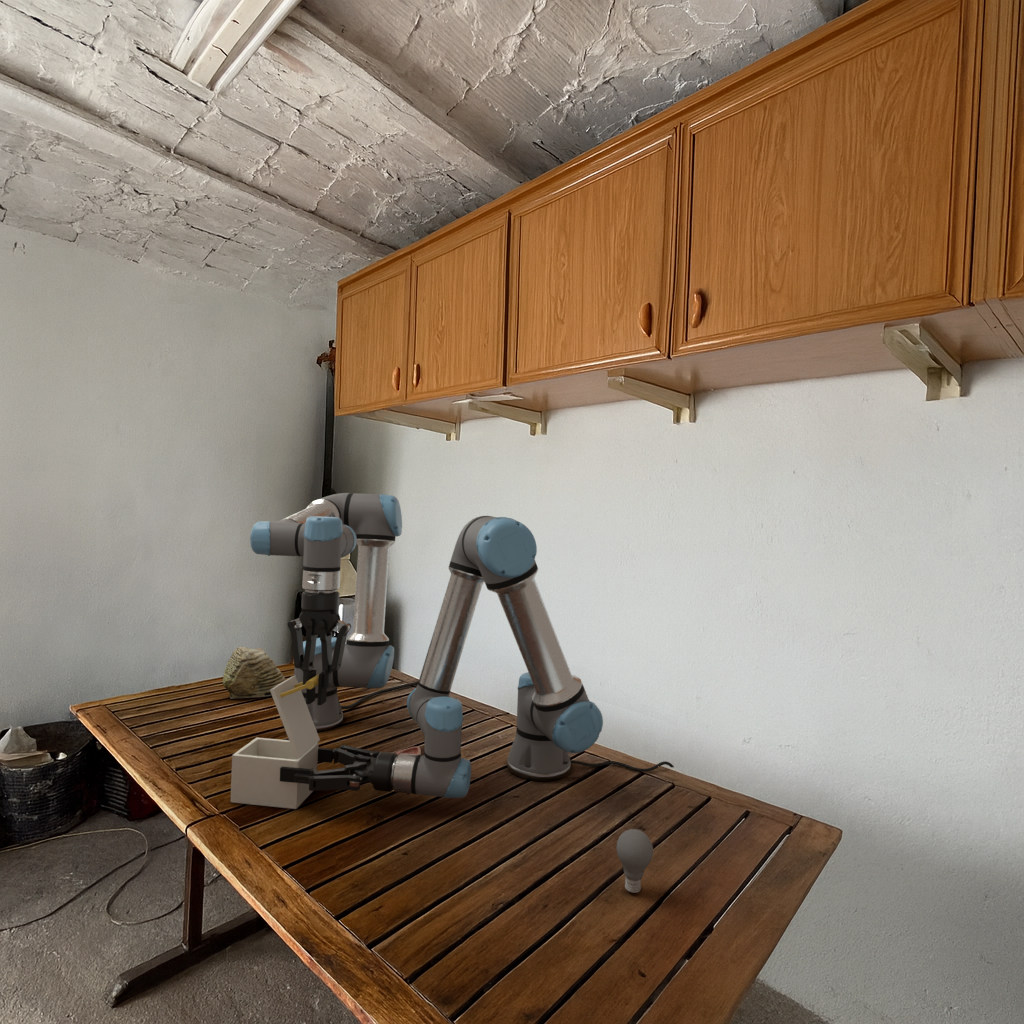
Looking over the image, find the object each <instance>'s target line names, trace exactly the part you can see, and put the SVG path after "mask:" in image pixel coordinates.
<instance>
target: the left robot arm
mask: <svg viewBox="0 0 1024 1024" xmlns="http://www.w3.org/2000/svg"><path fill="white" fill-rule="evenodd" d="M402 529H403V516H402V509H401V505H400V502H399V500H398V498H397V497H396V496H395V495H389V494H382V493H356V492H353V493H352V492H341V493H340V492H339V493H334V494H330V495H327V496H324V497H321V498H318V499H315V500H313V501H312V502H310V503H309V504H308V505H307V506H306V508H305V509H302V510H300V511H298V512H296V513H293V514H291V515H289V516H287V517H285V518H282V519H280V520H277V521H270V520H267V521H257V522H255V523H254V524H253V526H252V528H251V531H250V536H249V537H250V538H249V540H250V548H251V551H252V552H253V553H255V554H256V555H263V556H268V557H270V556H276V557H277V556H279V557H302V558H303V561H302V563H303V565H302V584H301V585H302V586H301V587H302V589H303V591H302V593H301V603H300V605H301V607H300V608H301V612H300V613H299V616H298V618H295V619H293V620H290V621H288V622H287V628H288V630H289V632H290V636H291V646H292V656H293V658H292V659H293V667H294V672H293V676H296V679H297V681H298V683H301V682H303V685H305V684H306V682H307V681H308V680H310V679H312V678H313V677H315V676H316V675H318V674H319V678H318V685H317V686H315V687H314V688H312V689H307V688H305V689H302V690H301V692H302V694H303V697H304V699H305V702H306V705H307V707H308V710H309V712H310V715H311V718H312V720H313V723H314V725H315V728H316V731H317V733H318V732H325V731H329V730H332V729H335V728H337V727H339V726H340V725H342V723H343V722H344V714H343V710H349V709H352V708H354V707H356V706H357V705H359V704H360V703H362V702H364V701H366V700H368V699H370V698H373V697H374V696H376V695H380V694H383V693H388V692H392V691H395V690H401V689H404V688H409V687H413V686H417V684H418V681H419V680H417V681H414V682H410V683H406V684H401V685H396V686H392V687H388V688H387V687H386V688H384V687H385V686H386V685H387V684H388V681H389V679H390V676H391V673H392V669H393V665H394V660H395V647H394V646H392V645H391V644H390V638H389V637H388V636H387V635H386V634H385V622H386V619H385V618H386V606H387V592H388V577H389V574H388V573H389V561H390V549H391V547H392V546H393V545H394V544H395V543H396V537H400V536H401V535H402V531H403V530H402ZM356 546H357V547H358V548H357V549H358V550H357V562H356V563H357V565H356V566H357V567H356V577H355V578H356V580H355V591H354V593H355V595H354V607H353V610H354V611H353V623H352V624H351V623H346V622H344V621H343V620H342V619H341V615H340V613H339V609H340V592H339V589H340V587H341V565H342V558H345V557H347V556H348V555H350V554H351V553H353V551H354V550H355V548H356ZM302 627H303V629H305V640H304V639H303V630H302ZM351 628H352V632H351V634H349V632H350V631H351ZM334 629H336V631H337V632H338V633H337V635H336V636H335V637H334V636H333V631H334ZM348 634H349V635H348ZM303 640H304V641H303ZM338 688H355V689H357V688H358V689H359V688H360V689H368V690H370V689H380V690H378V691H374V692H372V693H370V694H368V695H366V696H363V697H361V698H360V699H358V700H357V701H355V702H353V703H351V704H347V705H341V702H340V699H339V695H338ZM381 688H384V689H381Z"/></svg>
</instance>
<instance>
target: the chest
mask: <svg viewBox="0 0 1024 1024" xmlns="http://www.w3.org/2000/svg"><path fill="white" fill-rule="evenodd" d="M318 748H319V742H317V743H316V744H315V745H314V746H313V747H312V748H311V749H310V750H309V751H308V752H306V753H305V754H304V755H303V756H302V757H301V758H300V759H296V757H295V754H294V752H293V749H292V746H291V744H290V741H289V739H280V738H279V739H277V738H267V737H255V738H254V739H252V740H251V741H250V742H248V743H247V744H245V745H244V746H243V747H241V748H240V749H238V750H237V751H236V752H234V753H233V754H232V755H231V778H230V779H231V780H230V803H234V804H241V805H242V804H244V805H253V806H262V807H270V808H271V807H273V808H282V809H290V810H291V809H292V810H297V809H298V808H299V807H300V806H301V805H302V804H303V802H305V800H307V798H308V797H309V796H310V795H311V794H312V793H313V792H314V791H310V790H309V784H304V783H293V782H282V781H280V768H281V767H293V768H304V769H311V768H313V770H314V772H315V771H318Z"/></svg>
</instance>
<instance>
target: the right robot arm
mask: <svg viewBox="0 0 1024 1024" xmlns="http://www.w3.org/2000/svg"><path fill="white" fill-rule="evenodd" d="M537 551H538V548H537V542H536V539H535V536H534V534H533V533H532V531H531V530H530V529H529V527H527V526H526V524H524V523H522V522H520V521H518V520H517V519H514V518H512V517H506V516H499V517H497V516H492V515H479V516H476V517H474V518H472V519H471V520H469V521H468V522H467V523H466V524H465V525H464V526H463V527H462V529H461V530H460V533H459V534H458V537H457V540H456V542H455V545H454V547H453V551H452V554H451V558H450V561H449V564H448V570H449V572H450V577H449V581H448V582H447V587H446V590H445V593H444V597H443V600H442V602H441V606H440V609H439V613H438V616H437V620H436V623H435V626H434V629H433V632H432V636H431V639H430V643H429V646H428V649H427V652H426V656H425V659H424V662H423V665H422V669H421V671H420V676H419V679H418V680H417V681H418V684H417V685H416V687H415V688H413V689H412V690H411V691H410V693H409V694H408V696H407V699H406V707H407V710H408V714H409V716H410V717H411V719H412V721H414V723H416V724H417V726H418V727H419V729H420V730H421V732H422V733H423V736H424V748H423V749H424V750H423V755H422V754H421V755H416V754H405V753H400V754H399V755H397V754H396V753H395V752H388V751H379V750H368V749H364V748H359V747H355V746H351V745H347V744H340V746H339V747H335V748H334V749H333V748H327V747H326V748H325V747H318V762H320V763H329V764H331V763H333V765H335V764H341V765H343V766H344V767H339V768H332V769H323V770H317V771H315V772H314V770H313V768H311V769H304V768H293V767H281V768H280V781H282V782H293V783H304V784H309V790H310V791H313V792H315V791H316V792H317V791H319V792H320V791H344V790H345V791H346V790H347V791H353V792H355V791H356V792H357V791H360V790H361V785H362V784H371V785H372V788H373V790H374V791H376V792H386V793H391V792H394V793H399V794H400V793H401V794H406V795H407V796H410V795H419V796H430V797H439V798H443V799H446V798H447V799H463V798H465V797H466V796H467V795H468V793H469V790H470V786H471V781H472V780H471V779H472V763H471V761H470V760H469V759H467V758H464V757H462V737H463V736H462V735H463V733H462V732H463V722H464V715H463V704H462V702H461V701H460V699H458V698H454V697H453V696H450V694H451V689H452V686H453V683H454V680H455V676H456V673H457V670H458V666H459V663H460V660H461V657H462V653H463V650H464V647H465V644H466V640H467V638H468V634H469V631H470V627H471V624H472V622H473V617H474V613H475V612H476V608H477V605H478V601H479V598H480V594H481V591H482V588H483V585H485V586H486V589H487V590H488V591H489V592H493V593H495V594H496V595H497V597H498V600H499V602H500V605H501V608H502V610H503V612H504V615H505V617H506V619H507V623H508V625H509V627H510V630H511V632H512V635H513V637H514V640H515V643H516V645H517V647H518V650H519V652H520V655H521V657H522V659H523V662H524V664H525V667H526V670H527V672H524V673H522V674H521V675H520V676H519V679H518V685H517V702H516V703H517V705H516V706H517V707H516V730H515V737H514V739H513V741H512V743H511V747H510V749H509V753H508V755H507V769H508V770H509V771H510V772H511V773H512V774H513V775H515V776H517V777H520V778H521V779H526V780H529V781H537V782H549V781H555V780H559V779H563V778H565V777H566V776H568V775H569V774H570V772H571V764H574V765H580V766H585V767H591V768H595V767H596V768H598V767H603V766H604V767H605V766H609V765H610V766H611V765H613V766H620V767H622V768H623V767H624V768H626V769H628V770H632V771H635V772H641V773H648V772H652V771H655V770H656V769H658V768H660V767H661V766H665V765H666V766H669V767H670V768H674V767H675V766H674V764H673V763H671V762H669V761H667V760H665V761H660V762H659V763H657V764H655V765H653V766H650V767H647V768H641V767H640V768H639V767H635V766H633V765H629V764H626V763H625V762H620V761H611V760H610V761H603V762H602V761H601V762H597V763H592V762H591V763H589V762H585V761H580V760H574V759H571V758H570V754H578V753H579V754H580V753H582V752H585V751H587V750H589V749H590V748H591V747H592V746H593V745H595V743H596V742H597V741H598V739H599V737H600V734H601V732H602V730H603V726H604V718H603V714H602V711H601V710H600V708H599V707H598V705H596V703H595V702H593V701H590V699H589V697H588V694H587V692H586V689H585V687H584V684H583V681H582V679H581V677H579V676H577V675H576V674H575V675H574V674H572V672H571V669H570V666H569V664H568V662H567V659H566V656H565V653H564V651H563V649H562V646H561V644H560V641H559V639H558V636H557V633H556V631H555V628H554V626H553V623H552V620H551V618H550V615H549V612H548V610H547V608H546V605H545V602H544V599H543V597H542V594H541V592H540V589H539V587H538V584H537V581H536V576H537V574H538V572H539V567H538V564H537V561H536V556H537V553H538V552H537ZM569 753H570V754H569ZM658 766H659V767H658Z"/></svg>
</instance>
